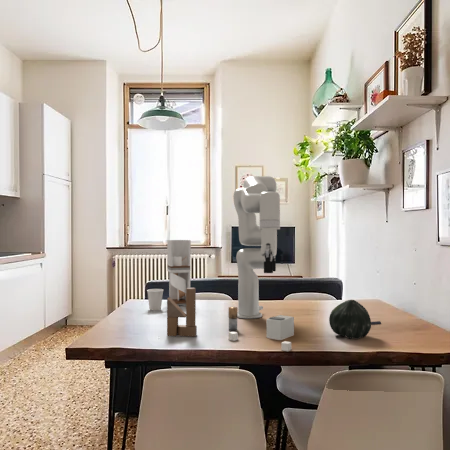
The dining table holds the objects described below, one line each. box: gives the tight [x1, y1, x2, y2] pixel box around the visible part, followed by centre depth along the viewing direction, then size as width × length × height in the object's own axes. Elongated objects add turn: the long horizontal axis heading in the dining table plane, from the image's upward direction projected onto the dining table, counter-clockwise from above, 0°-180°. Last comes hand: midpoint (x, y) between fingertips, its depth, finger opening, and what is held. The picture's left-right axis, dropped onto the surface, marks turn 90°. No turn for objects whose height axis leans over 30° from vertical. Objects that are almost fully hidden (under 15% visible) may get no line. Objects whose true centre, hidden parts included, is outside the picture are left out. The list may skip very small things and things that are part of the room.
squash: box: [328, 299, 372, 340], centre depth 157 cm, size 14×15×15 cm
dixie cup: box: [146, 288, 164, 312], centre depth 212 cm, size 8×8×10 cm
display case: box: [166, 239, 192, 307], centre depth 229 cm, size 11×11×35 cm
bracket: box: [371, 320, 382, 326], centre depth 184 cm, size 14×15×3 cm
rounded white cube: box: [228, 331, 239, 342], centre depth 152 cm, size 2×2×2 cm
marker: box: [280, 340, 292, 352], centre depth 139 cm, size 2×2×2 cm
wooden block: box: [166, 287, 198, 338], centre depth 159 cm, size 4×11×18 cm, turn 83°
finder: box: [266, 314, 295, 341], centre depth 158 cm, size 10×6×7 cm, turn 142°
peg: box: [228, 306, 238, 332], centre depth 167 cm, size 4×4×9 cm
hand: (269, 272), depth 153 cm, fingers open, 9 cm apart
